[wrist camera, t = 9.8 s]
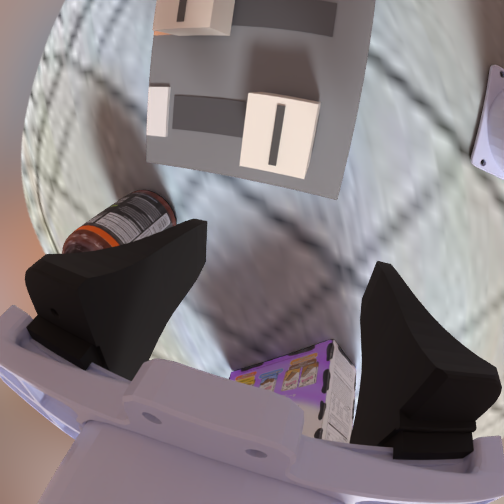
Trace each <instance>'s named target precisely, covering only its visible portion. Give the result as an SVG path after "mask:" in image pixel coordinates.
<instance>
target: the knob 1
mask: <svg viewBox="0 0 504 504" xmlns="http://www.w3.org/2000/svg"><path fill="white" fill-rule="evenodd" d="M234 4H235V0H157V3H156V9H155V16H154V23H153V31H159V32H163V33H168V34H173V35H177V36H192V35H219V36H230V31H231V24H232V18H233V11H234Z"/></svg>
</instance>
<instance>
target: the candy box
mask: <svg viewBox="0 0 504 504" xmlns="http://www.w3.org/2000/svg"><path fill="white" fill-rule="evenodd" d="M229 379H230V380H233V381H237V382H240V383H244V384H247V385H251V386H255V387H258V388H262V389H266V390H270V391H273V392H275V393H278V394H280V395H283V396H285V397H288V398H290V399H291V400H292V401H293V402H294V403H295V404H297V405H298V406H299V407H300V408H301V409H302V410H303V411H304V425H303V430H302V434H303V435H305V436H308V437H311V438H317V439H323V440H329V441H335V442H342V443H349V442H350V438H351V434H352V428H353V418H354V416H353V415H354V403H355V386H356V368H355V367H354V366H353V364H352V363H351V362H350V360H349V359H348V358H347V356H346V355H345V354H344V352H343V351H342V349H341V348H340V347H339V345H338V344H337V343H336V342H335V340H328V341H325V342H322V343H319V344H316V345H314V346H311V347H309V348H306V349H303V350H300V351H297V352H294V353H291V354H289V355H285V356H282V357H279V358H276V359H273V360H270V361H267V362H264V363H260V364H257V365H254V366H251V367H248V368H244V369H240V370H237V371H233V372H231V374H230V377H229Z"/></svg>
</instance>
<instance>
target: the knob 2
mask: <svg viewBox="0 0 504 504" xmlns="http://www.w3.org/2000/svg"><path fill="white" fill-rule="evenodd" d="M320 105H321V102H317V101H312V100H307V99H302V98H297V97H291V96H286V95H280V94H273V93H266V92H252V93H248V100H247V108H246V115H245V123H244V131H243V139H242V148H241V156H240V165H239V166H243V167H249V168H254V169H259V170H264V171H269V172H274V173H278V174H283V175H287V176H292V177H296V178H301V179H304V178H305V175H306V172H307V169H308V167H309V163H310V158H311V153H312V148H313V143H314V137H315V132H316V127H317V121H318V116H319V110H320Z"/></svg>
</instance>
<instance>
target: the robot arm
mask: <svg viewBox="0 0 504 504" xmlns="http://www.w3.org/2000/svg"><path fill="white" fill-rule="evenodd" d="M500 71H501V72H502V74H503V77H501V76H500ZM482 159H483V160H484V163H483V164H482V165H481V164H480V162H481V160H482ZM471 163H472V164H473V165H474V166H476V167H478V168H480V169H482V170H484V171H486V172H489V173H491V174H493V175H495V176H497V177H499V178H501V179H503V180H504V69H503V68H502V67H500V66H498V65H491V66H490V71H489V78H488V84H487V90H486V96H485V101H484V106H483V111H482V115H481V120H480V124H479V128H478V132H477V136H476V140H475V144H474V148H473V151H472V155H471ZM206 241H207V221H203V220H198V219H191V220H188V221H185V222H182V223H180V224H177V225H175V226H173V227H170V228H168V229H165V230H163V231H160V232H158V233H155V234H153V235H150V236H147V237H144V238H142V239H139V240H136V241H133V242H130V243H126V244H123V245H119V246H115V247H110V248H105V249H100V250H95V251H88V252H80V253H69V254H46V255H45V256H43V257H42V258H41V259H40V260H38V261H37V262H36V263H35V264H33V265H32V266H31V267H30V268H28V270H27V271H26V274H25V283H26V287H27V290H28V293H29V295H30V298H31V300H32V303H33V305H34V307H35V310H36V312H37V314H38V315H37V316H36V317H35V318H34V319H32V318H31V317H30V316H29V315H28V314H27V313H26V312H24V311H23V310H21V309H20V308H18V307H17V306H15V305H12V306H11V307H10V308H9V309H8V310H7V311H6V312H4V313H3V314H2V315H1V316H0V378H1V379H2V380H3V381H4V382H5V383H6V384H7V385H8V386H9V387H10V388H11V389H12V390H14V391H15V392H16V393H17V394H18V395H19V396H20V397H22V398H23V399H24V400H25V401H26V402H27V403H29V404H30V405H31V406H32V407H33V408H34V409H36V410H37V411H38V412H39V413H41V414H42V415H43V416H44V417H45V418H47V419H48V420H49V421H51V422H52V423H53V424H54V425H56V426H57V427H58V428H60V429H61V430H62V431H64V432H65V433H66V434H68V435H69V436H70V437H72V438H73V439H75V441H74V443H73V444H72V446H71V448H70V449H69V451H68V452H67V454H66V456H65V457H64V459H63V461H62V462H61V464H60V465H59V467H58V469H57V471H56V472H55V474H54V476H53V477H52V479H51V480H50V482H49V484H48V486H47V487H46V489H45V491H44V492H43V494H42V496H41V498H40V499H39V501H38V503H37V504H488V503H490V502H492V501H494V500H496V499H498V498H500V497H502V496H504V454H503V446H502V440H501V436H488V437H479V438H476V439H474V440H473V438H472V432H474V431H475V430H476V420H477V419H478V418H479V417H480V416H481V415H482V414H484V413H485V412H486V411H487V410H488V409H489V408H490V407H491V406H492V405H493V404H494V403H495V402H496V400H497V399H498V397H499V395H500V393H501V389H502V386H501V382H500V379H499V375H498V372H497V368H496V367H495V366H493V365H491V364H490V363H488V362H487V361H485V360H483V359H482V358H480V357H479V356H477V355H476V354H474V353H473V352H472V351H470V350H469V349H468V348H466V347H465V346H464V345H462V344H461V343H460V342H459V341H458V340H456V339H455V338H454V337H453V336H452V335H451V334H450V333H448V332H447V331H446V330H445V329H444V328H443V327H442V326H441V325H440V324H439V323H438V322H437V321H436V320H435V319H434V318H433V317H432V315H431V314H430V313H429V312H428V311H427V310H426V309H425V307H424V306H423V305H422V304H421V303H420V301H419V300H418V299H417V298H416V296H415V295H414V294H413V292H412V291H411V290H410V288H409V287H408V286H407V284H406V283H405V282H404V280H403V279H402V278H401V276H400V275H399V274H398V272H397V271H396V270H395V268H394V267H393V266H392V265H391V264H388V263H384V262H380V261H377V262H376V265H375V268H374V270H373V273H372V275H371V278H370V280H369V283H368V285H367V288H366V290H365V293H364V295H363V298H362V303H361V316H360V326H361V350H362V373H361V382H360V391H359V397H358V404H357V410H356V415H355V420H354V425H353V430H352V434H351V438H350V442H349V443H342V442H335V441H329V440H323V439H317V438H311V437H308V436H305V435H303V434H302V430H303V425H304V411H303V410H302V409H301V408H300V407H299V406H298V405H297V404H295V403H294V402H293V401H292V400H291V399H290V398H288V397H285V396H283V395H280V394H278V393H275V392H273V391H270V390H266V389H262V388H258V387H255V386H251V385H247V384H244V383H240V382H237V381H233V380H230V379H226V378H223V377H220V376H217V375H213V374H210V373H207V372H204V371H201V370H198V369H195V368H192V367H189V366H186V365H183V364H180V363H178V362H174V361H169V360H164V359H153V360H149V358H150V356H151V354H152V352H153V350H154V348H155V346H156V343H157V341H158V339H159V337H160V335H161V334H162V332H163V330H164V328H165V326H166V324H167V322H168V321H169V319H170V317H171V316H172V314H173V313H174V311H175V310H176V308H177V307H178V306H179V304H180V303H181V301H182V300H183V299H184V297H185V296H186V294H187V293H188V291H189V290H190V289H191V287H192V286H193V284H194V283H195V281H196V280H197V278H198V276H199V274H200V272H201V271H202V268H203V266H204V264H205V262H206Z"/></svg>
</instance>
